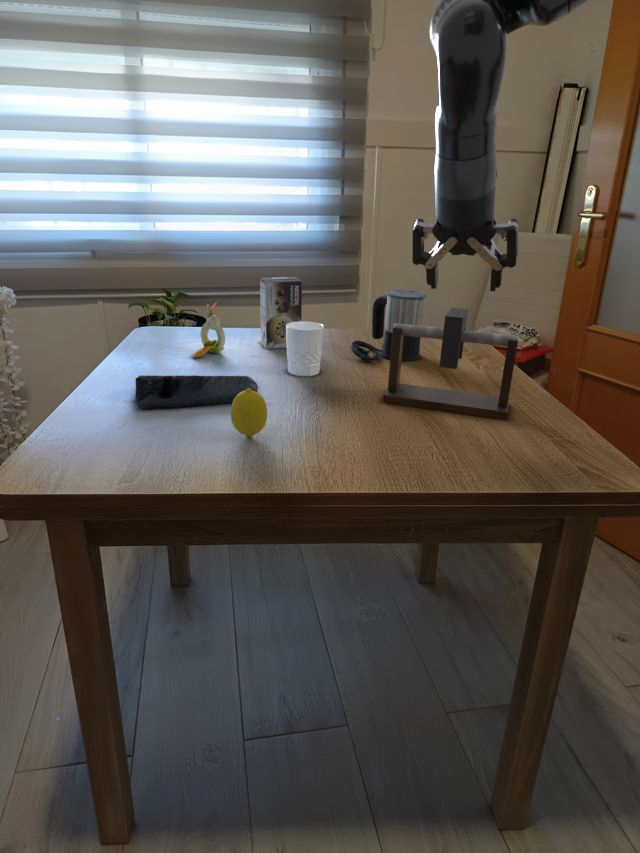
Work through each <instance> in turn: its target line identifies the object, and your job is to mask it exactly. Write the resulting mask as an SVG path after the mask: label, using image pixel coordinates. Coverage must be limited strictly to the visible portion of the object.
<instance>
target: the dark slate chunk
mask: <svg viewBox="0 0 640 853" xmlns="http://www.w3.org/2000/svg"><path fill="white" fill-rule="evenodd" d="M248 388H250V389H251V390H253V391H256V392H257V393H258V390H259V385H258V383H257V382H256V381H255V380H254V379H253V378H252V377H251V376H248V375H197V374H195V375H192V374H191V375H142V374H141V375H138V376H137V377H136V378H135V400H136V402H137V406H138V407H139V408H142V409H146V410H150V409H155V408H157V409H158V408H165V409H168V408H172V409H173V408H174V409H175V408H189V407H192V406H208V405H211V406H213V405H215V404H216V405H220V404H232V403H233V400H234V398H235V397H236V396H237V395H238V394H239V393H240V392H242V391H245V390H246V389H248Z"/></svg>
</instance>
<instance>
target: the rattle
mask: <svg viewBox="0 0 640 853" xmlns="http://www.w3.org/2000/svg"><path fill="white" fill-rule="evenodd" d="M216 304H218V301H216V302H215V303H214V304H213V305H212V306H211V307H210V305H209V304H207V305H206V318H207V320H206V322H205V323H203V324H202V326H201V329H200V339H201V343H202V345H203V346H202V347H201V348H199V349H198V350H197V351H195V352H194V353H193V354H192V357H193V358H195V359H196V358H200V357H202V356H204V355H205V354H207V352H209V353H214V354H219V353H220V352H222V351H224V349H225V348H224V346H225V343H226V335H225V334H226V333H225V330H224V329H223V327H222V326H221V320H220V318H219V316H218V315H216V314H214V313H213V310H214V307H215V306H216ZM210 330H212V331H215V333H216V336H217V339H214V340H211V339H209V332H210Z"/></svg>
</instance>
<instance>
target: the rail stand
mask: <svg viewBox="0 0 640 853" xmlns="http://www.w3.org/2000/svg"><path fill="white" fill-rule="evenodd" d="M443 331H444V327H435V326H425V325H422V326H417V325H407V324H398V323H395V324H394V327H393V332H392V344H391V356H390V358H389V370H388V381H387V382H388V383H387V389H386V391H385V392H384V393H383V394H382V396H383V397H382V403H385V404H393V405H400V406H406V407H412V408H413V407H414V408H419V409H425V410H426V409H428V410H433V411H440V412H447V413H456V414H462V415H468V416H476V417H482V418H489V419H490V418H491V419H496V420H504V421H507V419H508V418H507V417H508V411H509V404H510V391H511V386H512V380H513V374H514V367H515V362H516V356H517V352H518V345H519V338H520V337H519V335H512V334H503V333H493V332H483V331H474V330H463V332H462V336H461V342H464V343H470V344H479V345H488V346H489V345H490V346H497V347H505V348H506V352H505V353H506V354H505V359H504V363H503V364H504V365H503V370H502V377H501V383H500V389H499V395H498V396H496V395H489V394H481V393H476V392H475V393H473V392H466V391H459V390H452V389H444V388H438V387H429V386H423V385H414V384H408V383H400V382H401V370H402V361H403V360H402V350H403V339H404V335H405V336H414V337H421V338H424V339H433V340H442V339H443Z"/></svg>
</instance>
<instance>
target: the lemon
mask: <svg viewBox="0 0 640 853" xmlns="http://www.w3.org/2000/svg"><path fill="white" fill-rule="evenodd" d="M230 419H231V423H232V425H233V427H234V428H235V430H236V431H237V432H238V433H240V434H241V435H245V437H246V438H249V439H250V438H252V437H254V435H257V434H259V433H260V432H262V430H263V429H265V426H266V423H267V420H268V408H267V403H266V400H265V399H264V396H262V394H260V393H259V392H258V391H257V392H256V391H253V390H251V389H250V388H248V389H246V390H245V391H242V392H240V393H239V394H238V395H237V396H236V397H235V398H234V400H233V403H231V408H230Z"/></svg>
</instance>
